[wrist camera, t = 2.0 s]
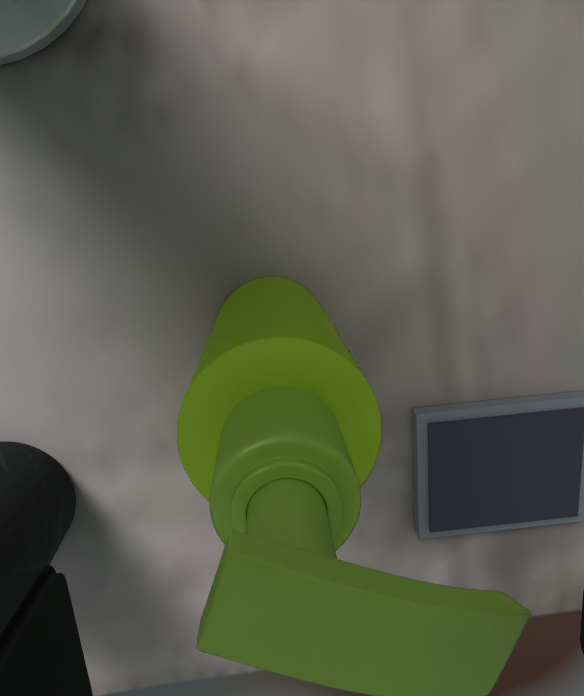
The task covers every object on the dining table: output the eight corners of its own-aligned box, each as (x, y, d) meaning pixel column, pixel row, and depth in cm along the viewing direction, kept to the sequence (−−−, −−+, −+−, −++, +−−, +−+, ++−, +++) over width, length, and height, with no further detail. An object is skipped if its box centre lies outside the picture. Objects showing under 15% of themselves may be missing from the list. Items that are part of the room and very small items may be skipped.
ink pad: (411, 408, 29) (418, 416, 28) (584, 390, 29) (597, 397, 28) (414, 530, 31) (420, 542, 30) (575, 512, 31) (587, 524, 30)
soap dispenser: (324, 400, 28) (457, 807, 9) (203, 366, 27) (65, 738, 8) (359, 301, 27) (606, 531, 8) (233, 262, 26) (154, 409, 7)
